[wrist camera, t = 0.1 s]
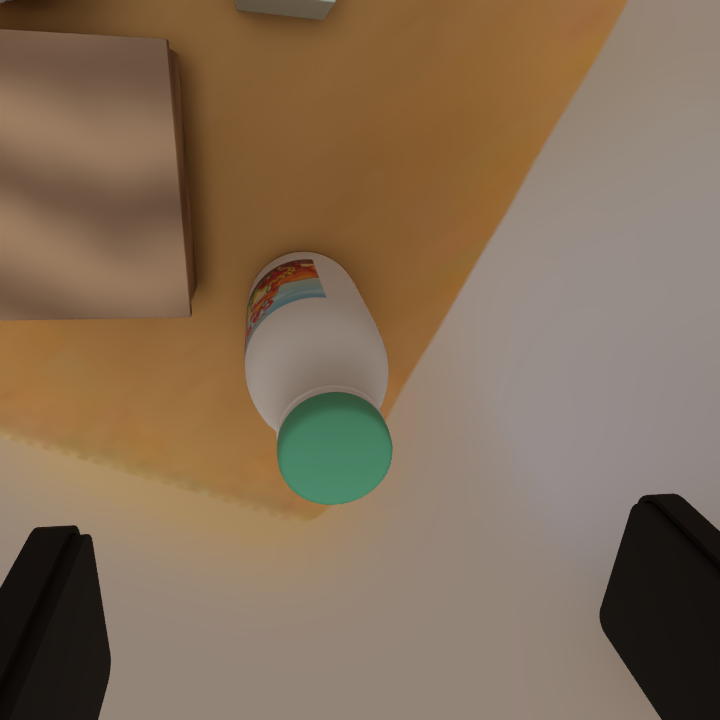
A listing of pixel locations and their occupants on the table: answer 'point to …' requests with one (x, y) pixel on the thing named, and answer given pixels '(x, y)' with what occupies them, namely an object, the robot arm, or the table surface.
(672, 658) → the robot arm
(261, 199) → the table surface
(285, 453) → the milk bottle
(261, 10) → the block
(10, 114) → the walnut box
